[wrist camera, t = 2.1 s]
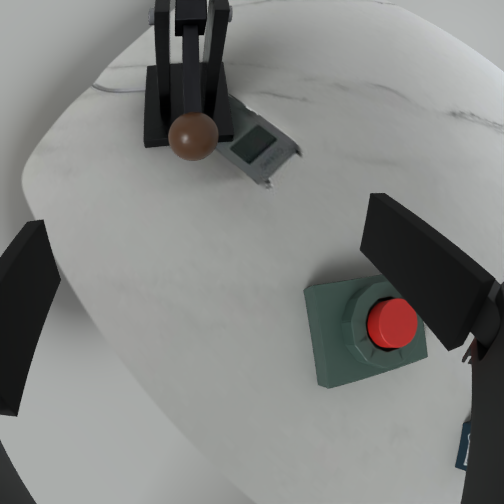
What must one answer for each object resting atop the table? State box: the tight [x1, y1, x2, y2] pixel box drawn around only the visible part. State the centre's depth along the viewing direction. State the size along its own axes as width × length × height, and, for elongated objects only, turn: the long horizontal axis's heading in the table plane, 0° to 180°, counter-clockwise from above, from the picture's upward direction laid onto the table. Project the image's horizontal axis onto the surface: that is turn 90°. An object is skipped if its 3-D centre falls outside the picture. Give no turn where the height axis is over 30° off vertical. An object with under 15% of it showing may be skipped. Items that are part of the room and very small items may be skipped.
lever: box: [168, 0, 219, 161], centre depth 19 cm, size 13×3×3 cm, turn 8°
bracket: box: [144, 0, 234, 148], centre depth 23 cm, size 10×8×13 cm
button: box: [367, 298, 417, 348], centre depth 22 cm, size 4×4×2 cm
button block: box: [304, 275, 428, 388], centre depth 24 cm, size 10×8×4 cm
